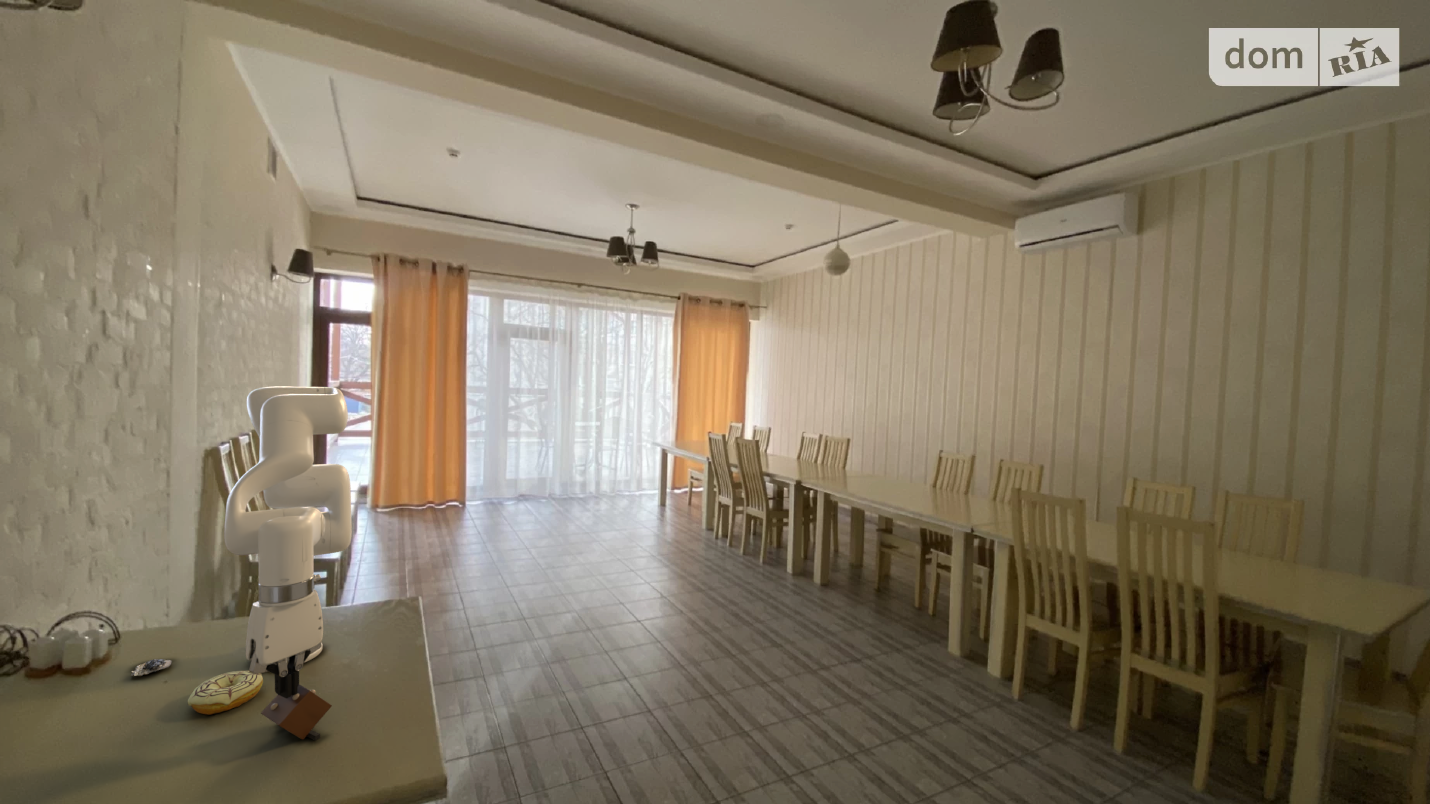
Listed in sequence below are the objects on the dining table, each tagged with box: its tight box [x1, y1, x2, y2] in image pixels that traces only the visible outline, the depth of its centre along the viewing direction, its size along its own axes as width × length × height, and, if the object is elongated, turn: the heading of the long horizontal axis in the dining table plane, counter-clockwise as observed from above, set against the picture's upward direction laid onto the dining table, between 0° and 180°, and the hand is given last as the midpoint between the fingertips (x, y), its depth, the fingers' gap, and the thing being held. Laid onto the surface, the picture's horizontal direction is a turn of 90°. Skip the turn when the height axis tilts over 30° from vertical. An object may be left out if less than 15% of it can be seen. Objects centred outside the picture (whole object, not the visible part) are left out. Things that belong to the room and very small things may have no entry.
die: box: [260, 683, 333, 740], centre depth 99 cm, size 6×6×6 cm
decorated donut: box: [187, 670, 264, 715], centre depth 108 cm, size 10×11×4 cm
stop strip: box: [306, 729, 321, 741], centre depth 100 cm, size 10×1×1 cm, turn 66°
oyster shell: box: [130, 658, 173, 677], centre depth 119 cm, size 7×8×2 cm
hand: (287, 694), depth 98 cm, fingers closed
